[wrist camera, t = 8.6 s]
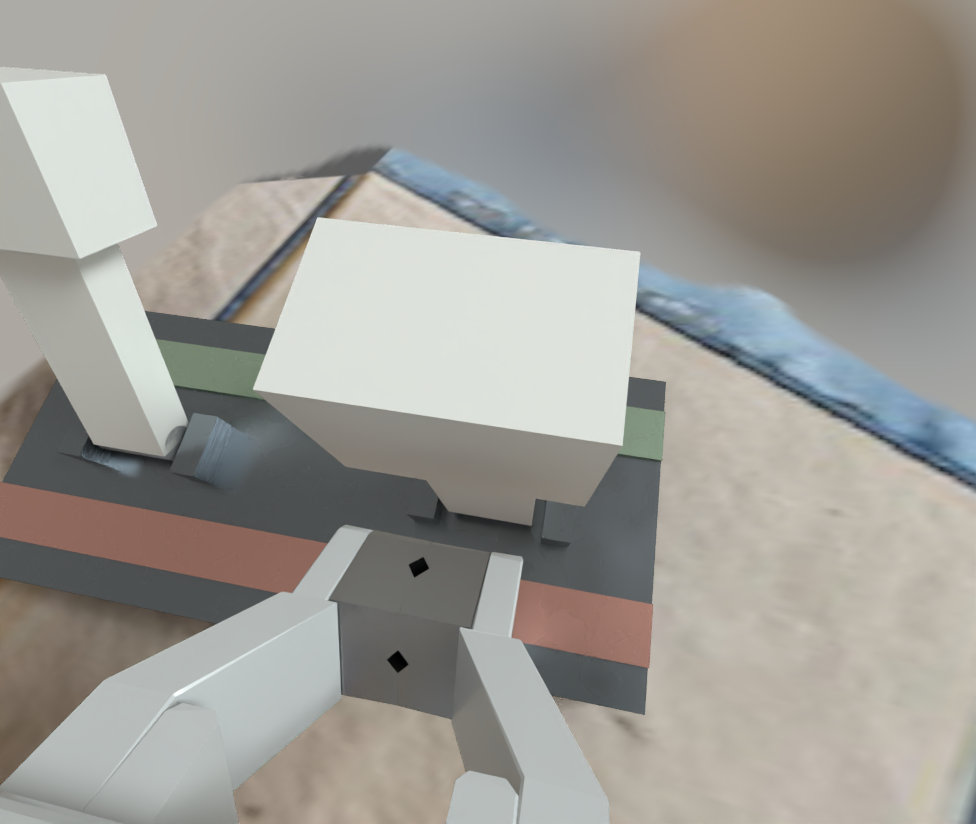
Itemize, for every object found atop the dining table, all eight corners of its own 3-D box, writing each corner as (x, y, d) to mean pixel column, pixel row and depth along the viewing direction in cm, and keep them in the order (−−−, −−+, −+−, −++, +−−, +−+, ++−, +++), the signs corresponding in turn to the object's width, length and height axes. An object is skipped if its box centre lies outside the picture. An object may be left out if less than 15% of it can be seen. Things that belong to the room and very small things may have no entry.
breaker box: (621, 695, 20) (655, 723, 15) (46, 575, 23) (-84, 564, 18) (643, 417, 24) (675, 366, 19) (153, 345, 27) (71, 286, 22)
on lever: (182, 487, 19) (1, 83, 11) (64, 465, 20) (-185, 68, 12) (229, 436, 21) (105, 74, 14) (122, 419, 22) (-54, 62, 14)
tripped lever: (555, 553, 18) (623, 445, 6) (420, 528, 19) (252, 390, 7) (566, 472, 19) (640, 251, 7) (438, 452, 20) (317, 217, 8)
